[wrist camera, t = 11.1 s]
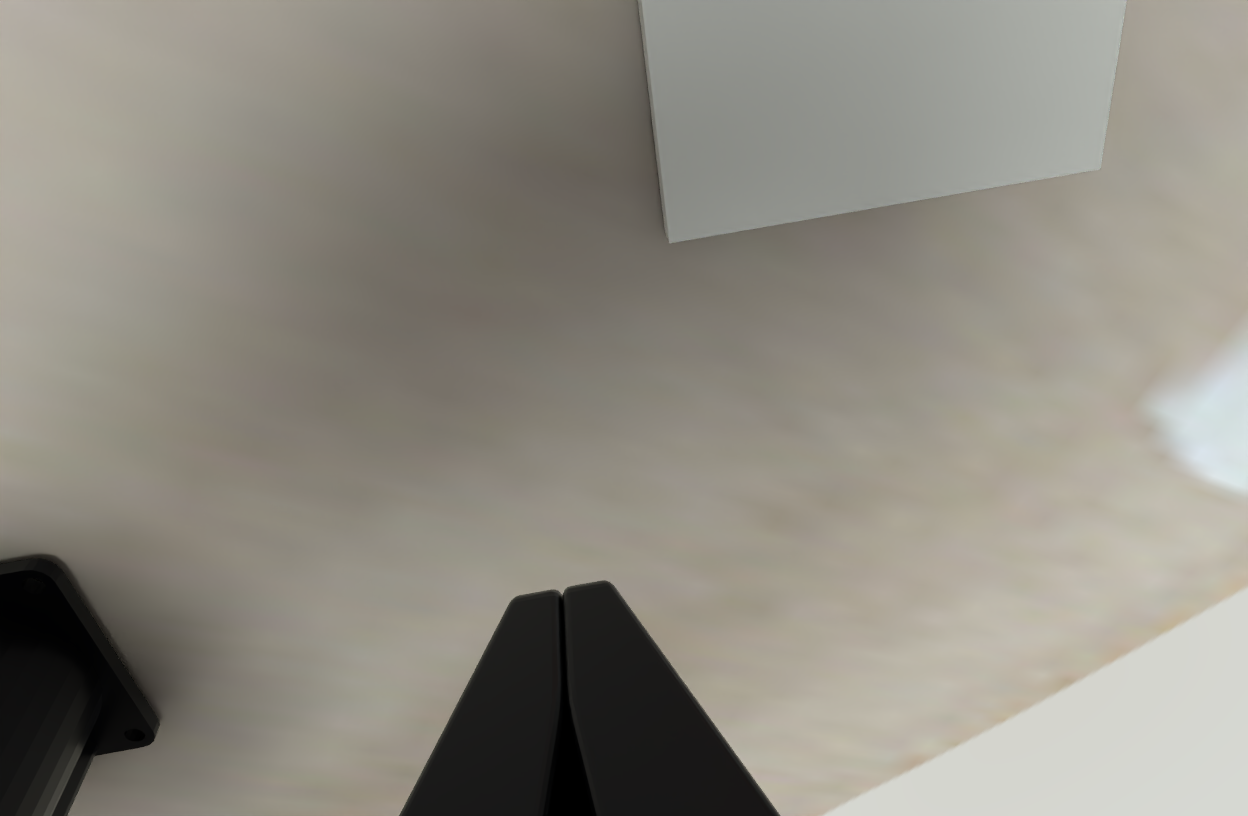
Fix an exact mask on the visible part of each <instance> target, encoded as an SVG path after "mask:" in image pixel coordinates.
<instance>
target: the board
mask: <svg viewBox="0 0 1248 816" xmlns="http://www.w3.org/2000/svg"><path fill="white" fill-rule="evenodd" d="M1126 3H1127V0H638V6H639V15H640V23H641V32H642V40H643V49H644V57H645V66H646V74H647V83H648V92H649V100H650V109H651V117H652V126H653V134H654V143H655V151H656V160H657V168H658V177H659V185H660V194H661V203H662V211H663V220H664V228H665V234H666V236H667V239H668V241H669V243H675V242H681V241H687V240H693V239H698V238H704V237H710V236H716V235H722V234H728V233H733V232H739V231H745V230H751V229H757V228H762V227H768V226H774V225H780V224H786V223H791V222H797V221H803V220H809V219H815V218H821V217H826V216H832V215H838V214H844V213H850V212H855V211H861V210H867V209H873V208H879V207H884V206H890V205H896V204H902V203H908V202H914V201H919V200H925V199H931V198H937V197H943V196H948V195H954V194H960V193H966V192H972V191H977V190H983V189H989V188H995V187H1001V186H1006V185H1012V184H1018V183H1024V182H1030V181H1036V180H1041V179H1047V178H1053V177H1059V176H1065V175H1070V174H1076V173H1082V172H1088V171H1094V170H1099V169H1101V163H1102V156H1103V150H1104V144H1105V137H1106V131H1107V124H1108V118H1109V112H1110V105H1111V99H1112V92H1113V86H1114V80H1115V73H1116V67H1117V60H1118V54H1119V48H1120V41H1121V35H1122V28H1123V22H1124V16H1125V9H1126Z"/></svg>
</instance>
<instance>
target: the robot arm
mask: <svg viewBox="0 0 1248 816" xmlns="http://www.w3.org/2000/svg"><path fill="white" fill-rule="evenodd" d="M33 578H36V579H39V580H41V581H42V582H38V581H36V580H34V579H33ZM159 726H160V723H159V720H158V718H157V717H156V715H155V714H154V712H153V710H152V709H151V707H150V706H149V704H148V703H147V701H146V700H145V698H144V697H143V695H142V693H141V692H140V690H139V689H138V687H137V686H136V684H135V683H134V681H133V679H132V678H131V676H130V675H129V673H128V672H127V670H126V669H125V667H124V665H123V664H122V662H121V661H120V659H119V658H118V656H117V655H116V653H115V652H114V650H113V648H112V647H111V645H110V644H109V642H108V641H107V639H106V638H105V636H104V634H103V633H102V631H101V630H100V628H99V627H98V625H97V624H96V622H95V620H94V619H93V617H92V616H91V614H90V613H89V611H88V610H87V608H86V607H85V605H84V603H83V602H82V600H81V599H80V597H79V596H78V594H77V593H76V591H75V589H74V588H73V586H72V585H71V583H70V582H69V580H68V579H67V577H66V575H65V574H64V572H63V571H62V570H61V569H60V568H59V567H58V566H57V565H56V564H54V563H52V562H50V561H48V560H44V559H27V560H22V561H16V562H10V563H5V564H0V816H67V815H68V813H69V810H70V808H71V806H72V804H73V802H74V799H75V797H76V795H77V793H78V791H79V788H80V786H81V784H82V782H83V780H84V777H85V775H86V773H87V771H88V769H89V766H90V764H91V762H92V760H93V758H94V756H96V755H102V754H107V753H113V752H118V751H124V750H129V749H135V748H140V747H144V746H147V745H150V744H151V743H152V742H153V741H154V739H155V736H156V734H157V731H158V729H159ZM399 816H780V814H779V813H778V812H777V810H776V809H775V808H774V806H773V805H772V803H771V802H770V801H769V799H768V798H767V797H766V795H765V794H764V792H763V791H762V790H761V788H760V787H759V785H758V784H757V783H756V781H755V780H754V779H753V777H752V776H751V774H750V773H749V772H748V770H747V769H746V767H745V766H744V765H743V763H742V762H741V761H740V759H739V758H738V756H737V755H736V754H735V752H734V751H733V749H732V748H731V747H730V745H729V744H728V743H727V741H726V740H725V738H724V737H723V736H722V734H721V733H720V732H719V730H718V729H717V727H716V726H715V725H714V723H713V722H712V720H711V719H710V718H709V716H708V715H707V714H706V712H705V711H704V709H703V708H702V707H701V705H700V704H699V702H698V701H697V700H696V698H695V697H694V696H693V694H692V693H691V691H690V690H689V689H688V687H687V686H686V685H685V683H684V682H683V680H682V679H681V678H680V676H679V675H678V673H677V672H676V671H675V669H674V668H673V667H672V665H671V664H670V662H669V661H668V660H667V658H666V657H665V655H664V654H663V653H662V651H661V650H660V649H659V647H658V646H657V644H656V643H655V642H654V640H653V639H652V637H651V636H650V635H649V633H648V632H647V631H646V629H645V628H644V626H643V625H642V624H641V622H640V621H639V620H638V618H637V617H636V615H635V614H634V613H633V611H632V610H631V608H630V607H629V606H628V604H627V603H626V602H625V600H624V599H623V597H622V596H621V595H620V593H619V592H618V590H617V589H616V588H615V586H614V585H613V584H611V583H610V582H608V581H597V582H592V583H586V584H580V585H575V586H570V587H567V588H566V589H565V590H564V593H563V596H562V594H561V593H560V592H559V591H557V590H547V591H541V592H536V593H530V594H525V595H519V596H517V597H515V598H514V599H512V601H511V602H510V603H509V605H508V607H507V609H506V611H505V613H504V615H503V617H502V619H501V621H500V622H499V624H498V626H497V628H496V630H495V632H494V634H493V636H492V638H491V640H490V642H489V644H488V646H487V648H486V649H485V651H484V653H483V655H482V657H481V659H480V661H479V663H478V665H477V667H476V669H475V671H474V673H473V675H472V676H471V678H470V680H469V682H468V684H467V686H466V688H465V690H464V692H463V694H462V696H461V698H460V700H459V702H458V703H457V705H456V707H455V709H454V711H453V713H452V715H451V717H450V719H449V721H448V723H447V725H446V727H445V729H444V730H443V732H442V734H441V736H440V738H439V740H438V742H437V744H436V746H435V748H434V750H433V752H432V754H431V755H430V757H429V759H428V761H427V763H426V765H425V767H424V769H423V771H422V773H421V775H420V777H419V779H418V781H417V782H416V784H415V786H414V788H413V790H412V792H411V794H410V796H409V798H408V800H407V802H406V804H405V806H404V808H403V809H402V811H401V813H400V815H399Z"/></svg>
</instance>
